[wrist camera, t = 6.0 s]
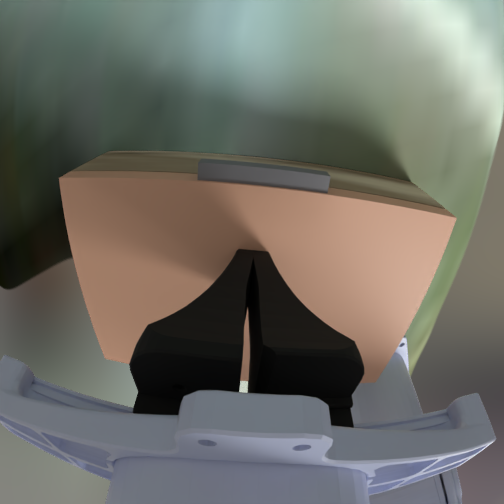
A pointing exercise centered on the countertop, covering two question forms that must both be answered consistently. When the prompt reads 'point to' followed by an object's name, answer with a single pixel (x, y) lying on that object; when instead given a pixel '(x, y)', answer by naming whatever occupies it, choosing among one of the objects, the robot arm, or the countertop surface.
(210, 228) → the lid
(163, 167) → the storage box
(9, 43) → the countertop surface
